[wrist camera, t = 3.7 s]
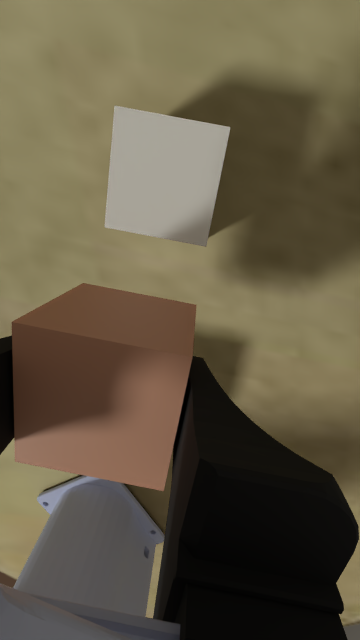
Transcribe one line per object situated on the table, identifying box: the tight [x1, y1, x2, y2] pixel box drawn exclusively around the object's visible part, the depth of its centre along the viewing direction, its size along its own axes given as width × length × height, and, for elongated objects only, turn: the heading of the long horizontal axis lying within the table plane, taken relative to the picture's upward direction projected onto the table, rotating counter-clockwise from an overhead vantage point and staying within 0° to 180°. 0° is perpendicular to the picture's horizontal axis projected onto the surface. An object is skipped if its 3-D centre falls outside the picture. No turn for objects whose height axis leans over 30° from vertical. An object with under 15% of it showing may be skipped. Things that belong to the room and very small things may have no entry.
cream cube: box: [105, 106, 230, 246], centre depth 15 cm, size 5×5×5 cm
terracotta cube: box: [12, 283, 196, 491], centre depth 11 cm, size 5×5×5 cm
